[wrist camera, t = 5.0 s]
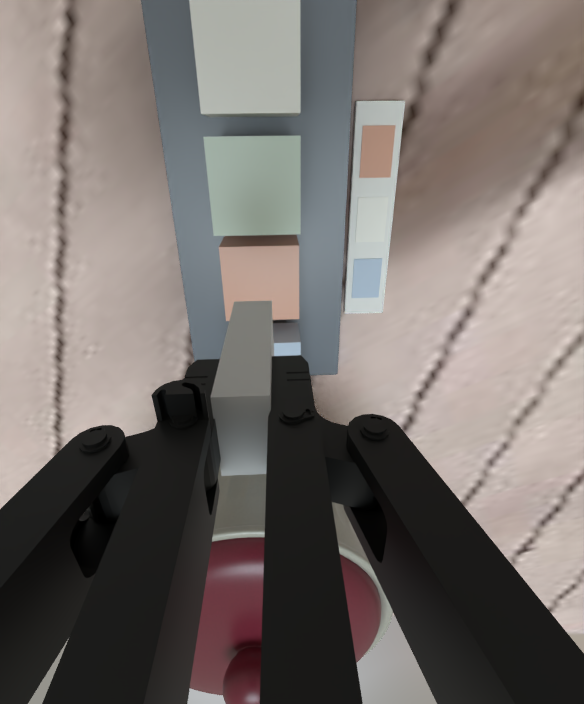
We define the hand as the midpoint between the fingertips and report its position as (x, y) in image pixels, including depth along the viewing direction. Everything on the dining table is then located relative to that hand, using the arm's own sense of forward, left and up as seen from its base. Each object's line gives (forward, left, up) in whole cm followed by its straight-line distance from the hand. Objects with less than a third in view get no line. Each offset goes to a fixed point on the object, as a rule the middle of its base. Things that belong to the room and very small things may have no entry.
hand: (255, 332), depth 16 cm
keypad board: (-2, 0, -16) cm, 16 cm away
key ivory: (-11, 0, -12) cm, 16 cm away
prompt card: (-2, +8, -16) cm, 18 cm away
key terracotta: (+1, 0, -13) cm, 13 cm away
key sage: (-5, 0, -12) cm, 13 cm away
